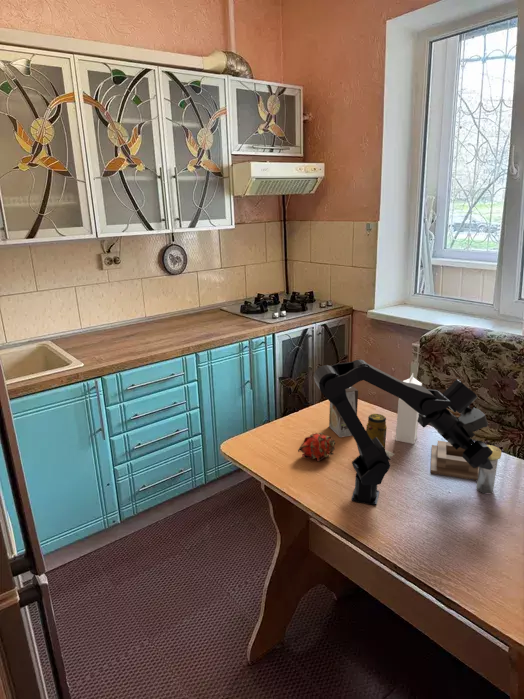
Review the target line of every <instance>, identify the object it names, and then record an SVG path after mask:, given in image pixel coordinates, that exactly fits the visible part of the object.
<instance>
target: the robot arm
mask: <svg viewBox="0 0 524 699" xmlns="http://www.w3.org/2000/svg"><path fill="white" fill-rule="evenodd" d="M313 379H314V382H315V384H316V386H317V387H318V389H319V390H320V392H321V394H322V395H324V397H325V398H326V399H327V400H328V401H329V403H330V402H331V403H332V404H333V405H334V406H335V407H336V409H337V411H338V412H339V414H340V416H341V417H342V419H343V421H344V422H345V424H346V426H347V427H348V429H349V431H350V433H351V434H352V436H351V437H353V440H354V441H355V443H356V446H357V450H358V453H359V455H358V456H357V457H356V458H354V459H353V460H352V461H351V464H352V467H353V469H354V471H355V478H354V479H355V481H354V482H355V484H354V488H353V493H352V495H351V501H352V502H355V503H361V504H366V505H372V506H377V505H378V501H379V496H380V490H378V485H381V484H382V482H383V480H384V478H385V476H386V474H387V473H388V472H389V471H390V469H391V464H390V461H391V457H389V456H388V454H387V453H386V452H385V450H386V448H385V449H384V447H383V446H382V444H381V443H380V441H379V440H378V439H377V437H375V438H374V439H373V440H372V439H371V438H370V437H369V435H368V434H367V432H366V428H365V426H364V425H363V423H362V421H361V420H360V418H359V416H358V413H357V414H356V413H355V411H354V409H353V408H352V406H351V404H350V402H349V401H348V398H347V394H346V390H345V389H347V388H350V387H351V386H353V387H354V385H356V384H358V383H360V382H361V381H365V383H368V384H371V385H372V386H375V387H377V388H379V389H381V390H383V391H385V392H387V393H389V394H391V395H393V396H394V397H397V398H398V399H399V398H400V399H402V400H403V401H404V402H405V403H407V404H408V405H409V406H410V407H411V408H413V409H414V410H415V411H417V412H418V413H419V414H418V415H419V417H418V425H420V426H421V427H422V428H425V427H427V426H428V425H431V427H432V428H433V429H435V431H437V433H438V434H439V435H440V436H441V437H442V438H443V439H444V441H446V442H449V443H450V444H451V445H452V446H453V447H454V448H455V449H456V450H457V449H458V448H459V447H460V448H462V449H465V451H464V452H463V458H464V459H465V460H466V461H467V462H468V463H469V464H470V465H471V466H472V467H473V468H477V467H480V468H484V469H488V470H491V469H492V468H493V466H492V464H491V462H490V460H489V458H488V457H489V456H490V455H491V454H492V452H493V451H492V450H491V449H490V448H489V447H488V446H487V445H488V444H486V443H485V442H484V441H482V440H475V441H474V440H473V439H472V438H473V437H474V436H476V434H475V433H474V432H477V431H479V430H481V429H483V428H487V427H488V426H489V422H488V419H487V416H486V414H485V413H484V412H483V411H481V410H480V409H479V408H475V407H472V408H471V407H470V405H471V404H472V403H473V402H475V400H477V399H478V397H479V396H478V395H477V394H476V393H475V392H474V391H473V390H472V389H470V388H469V387H467V386H466V385H465V384H464V383H463V381H461V380H459V379H455V381H453V382H452V383H451V385H450V386H448V388H447V389H446V390H444V391H443V393H442V392H440V391H439V390H438V389H428V388H426V387H425V386H423V385H422V386H420V385H417V384H413V383H406V382H403V381H404V380H400V379H399V378H397V377H395V376H393V375H392V374H391V375H390V374H389V373H387V372H385V371H383V370H381V369H379V368H377V367H375V366H373V365H372V364H369V363H367V362H366V361H365V360H363V359H355V360H353V361H348V362H338V363H335V364H334V363H333V364H331V365H329V364H325V365H324V364H323V365H321V366H318V368H317V369H316V370H315V372H314V374H313ZM448 408H449V409H450V410H452V412H454V413H456V412H457V413H458V414H460V416H458V417H457V416H456V415H455V414H453V413H452V412H451V411H450V410H449V409H448Z"/></svg>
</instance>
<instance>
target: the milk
mask: <svg viewBox="0 0 524 699" xmlns="http://www.w3.org/2000/svg"><path fill="white" fill-rule="evenodd" d="M402 381H403V382H406V383H413V384H417V385H420V386H423V383H422V382H421V381H419V380H418V379H417V378H415V377H414V373H412V374H411V376H410V377H409V378H407V379H404V380H402ZM397 404H398V405H397V416H396V427H395V441H397V442H402V443H406V444H411V445H414V444H415V442H416V440H417V438H418V429H419V422H418V417H419V415H418V414H419V413H418V412H417V411H415V410H414V409H413V408H411V407H410V406H409V405H408V404H407V403H405V402H404V401H403V400H402V399H400V398H398V402H397Z"/></svg>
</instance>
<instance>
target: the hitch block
mask: <svg viewBox="0 0 524 699" xmlns="http://www.w3.org/2000/svg"><path fill="white" fill-rule="evenodd" d="M464 451H465V449H462V448H460V447H459V448H458V449H457V450H456V449H455V448H454V447H453V446H452V445H451V444H450V443H449V442H448V441H446V440H444V441H443V440H437V445H435V444H432V445H431V456H430V457H431V458H430V474H433V475H441V476H446V477H453V478H459V479H465V480H470V479H473V480H472V481H476V480H477V479H478V471H479V467H477V468H473V467H472V466H471V465H470V464H469V463H468V462H467V461H466V460H465V459H464V458H463V452H464Z"/></svg>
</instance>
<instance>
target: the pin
mask: <svg viewBox="0 0 524 699" xmlns="http://www.w3.org/2000/svg"><path fill="white" fill-rule="evenodd" d="M486 445H487V446H488V447H489V448H490V449H491V450H492V451H493V452H492V454H491V455H490V456H489V457H488V458H489V460H490V462H491V464H492V466H493V468H492V469H491V470H488V469H484V468H480V467H479V471H478V479H477V481H476V488H477V489H476V491H478V492H479V491H480V492H479V493H481V492H483V493H482V494H485V493H491V494H492V492H493V493H494V488H495V482H496V476H497V468H498V462H499V460H500V459H501V458H502V452H503V451H502V450H501V449H500V447H498V446H495V445H492V444H491V445H490V444H486Z"/></svg>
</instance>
